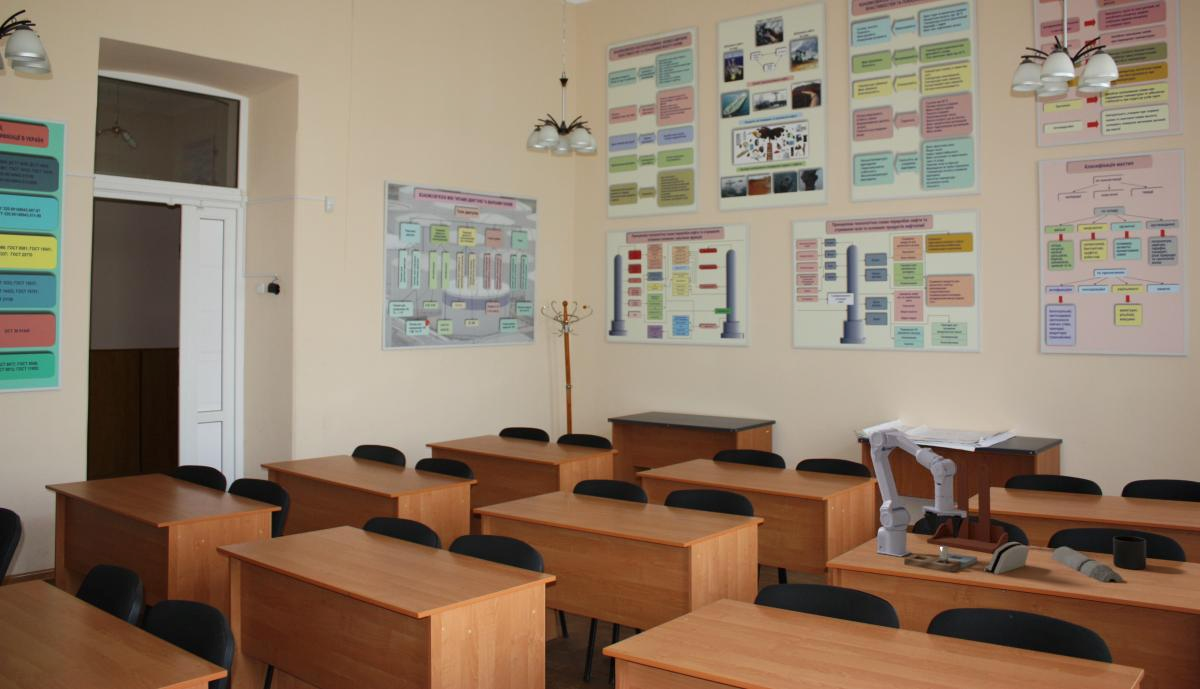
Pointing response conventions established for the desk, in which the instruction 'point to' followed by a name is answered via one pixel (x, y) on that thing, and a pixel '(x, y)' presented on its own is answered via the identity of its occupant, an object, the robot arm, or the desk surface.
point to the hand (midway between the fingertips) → (944, 535)
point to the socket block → (962, 559)
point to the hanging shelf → (970, 533)
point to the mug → (1129, 552)
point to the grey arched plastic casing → (1008, 557)
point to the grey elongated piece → (1085, 565)
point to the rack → (932, 563)
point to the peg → (944, 554)
